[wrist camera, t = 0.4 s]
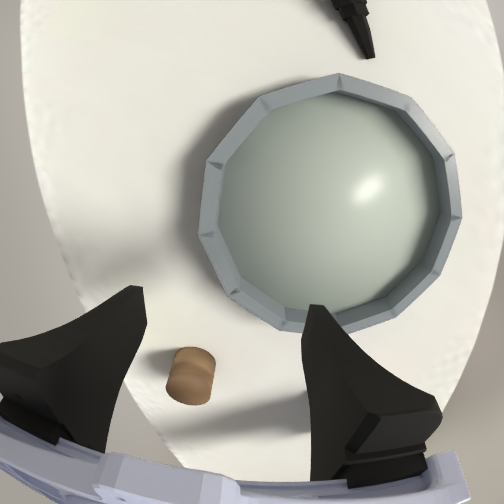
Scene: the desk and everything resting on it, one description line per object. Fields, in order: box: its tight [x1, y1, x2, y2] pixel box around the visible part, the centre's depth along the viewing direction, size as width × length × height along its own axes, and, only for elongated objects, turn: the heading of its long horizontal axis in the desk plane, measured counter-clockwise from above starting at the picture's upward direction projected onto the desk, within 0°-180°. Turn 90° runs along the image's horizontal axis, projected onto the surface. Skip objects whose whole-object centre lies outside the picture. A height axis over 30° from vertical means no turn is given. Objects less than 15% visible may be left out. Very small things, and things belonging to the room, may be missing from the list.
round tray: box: [198, 73, 462, 334], centre depth 19 cm, size 18×18×2 cm
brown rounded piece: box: [166, 347, 216, 405], centre depth 26 cm, size 4×4×4 cm
